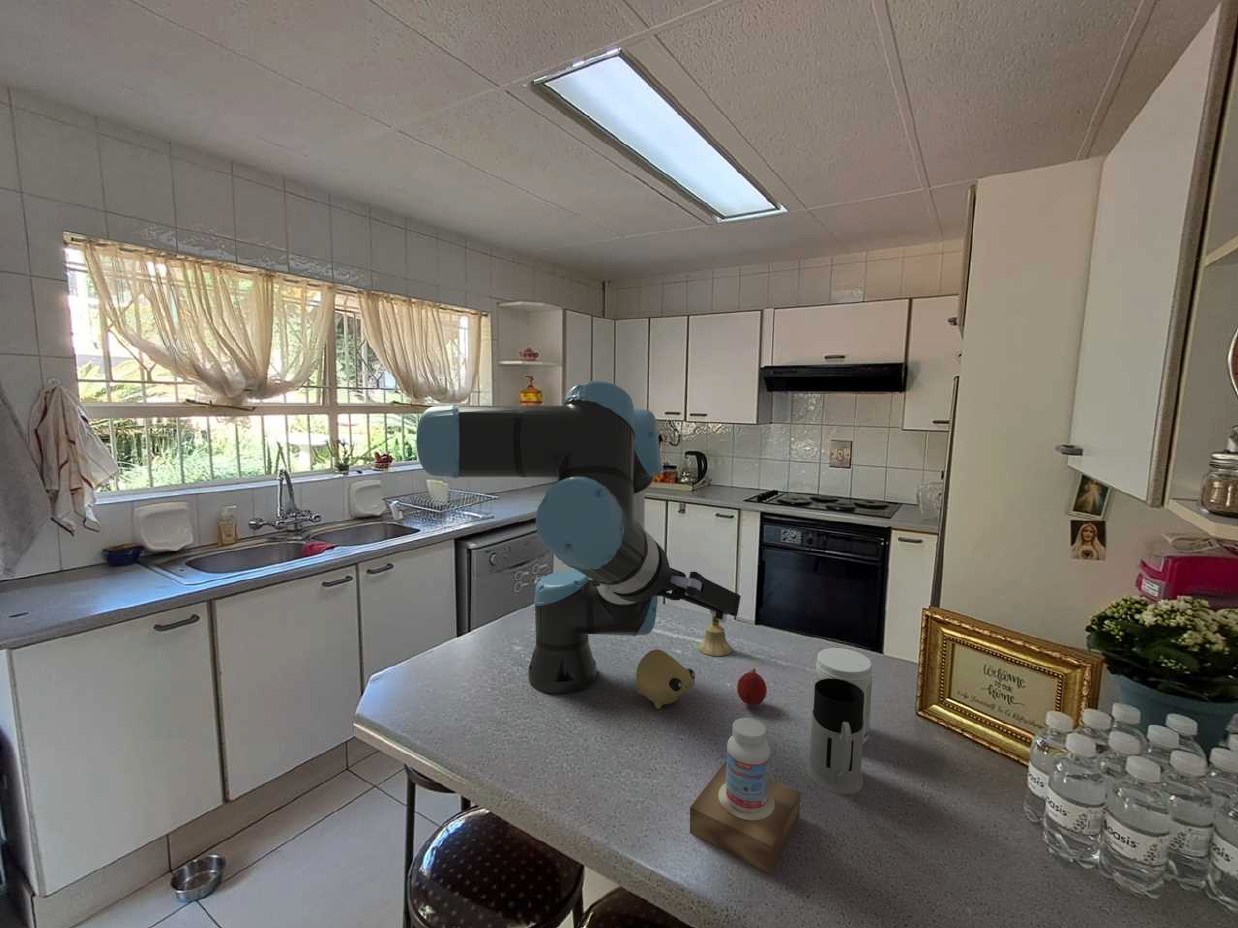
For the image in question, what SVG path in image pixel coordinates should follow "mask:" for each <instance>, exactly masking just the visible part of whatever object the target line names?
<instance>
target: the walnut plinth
mask: <svg viewBox="0 0 1238 928" xmlns="http://www.w3.org/2000/svg"><path fill="white" fill-rule="evenodd" d="M723 762H724V763H723V764H722V765H721V766H720V768H719V769H718V770H717V772H715V774H714V775H713V777H712V778H711V779H710V781H708V782H707V784H706V785H705V787H704V788H703V790H702V791H701V792H700V793H699V795H698V796H697V797H696V798H695V800H694V801H693V802H692V804H691V806H689V833H690V834H692V835H694V836H695V837H698V838H700V839H702V840H704V841H706V842H708V843H709V844H711V845H714V846H715V847H718V848H719V849H721V850H723V851H725V852H728V853H729V854H731V855H733V856H734V857H736V858H739V859H741V860H743V861H744V862H747V863H748V864H751V865H752V866H755V867H756V868H758V869H761V870H762V871H764V872H766V873H768V874H771V875H772V873H773V872H774V869H775V866H777V865H776V864H778V863H777V862H778V861H779V859H780V857H781V855H782V852H783V851H784V849H785V846H786V845H787V843H788V841H789V838H790V836H791V835H792V833H793V830H794V829H795V827H796V824H797V822H798V821H799V818H800V812H801V811H800V809H801V808H800V806H801V792H800V791H797V790H795V789H793V788H791V787H788V786H786V785H784V784H781V783H778V782H776V781H773V780H772V779H769V787H768V801H767V804H766V806H765V808H764V809H762V810H761V811H758V812H744V811H741V810H738V809H736V808H735V807H733V806H732V805H731V804H730V803H729V801H728V799H727V797H726V765H727V761H723Z"/></svg>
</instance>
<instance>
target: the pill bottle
mask: <svg viewBox="0 0 1238 928" xmlns="http://www.w3.org/2000/svg"><path fill="white" fill-rule="evenodd" d="M731 732H732V735H731V736H730V737H729V738H728V741H727V743H726V762H727V765H726V797H727V799H728V801H729V803H730V804H731V805H732V806H733V807H735V808H736V809H738V810H741V811H744V812H758V811H761V810H762V809H764V808H765V806H766V804H767V801H768V787H769V780H770V764H771V760H770V759H771V748H770V745H769V743H768V742H767V740H766V739H767V729H766V726H765V725H764V723H763V722H761V721H759V720H758V719H755V718H751V717H741V718H738V719H735V720H734V722H733V723H732V730H731Z"/></svg>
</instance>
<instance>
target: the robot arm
mask: <svg viewBox="0 0 1238 928" xmlns="http://www.w3.org/2000/svg"><path fill="white" fill-rule="evenodd" d="M633 403H634V402H633V401H632V398H631V396H630V395H629V393H628V392H627V391H626V390H625V389H623V388H622V387H620V386H618V385H616V384H614V383H611V382H608V381H601V380H591V381H590V380H589V381H586V382H585V383H583V384H577V385H574V386H573V387H572V388H570V390H569V391H568V392H567V393H566V396H565V399H564V402H563V404H562V405H540V404H539V405H532V404H529V405H521V406H520V405H519V406H517V405H513V406H512V405H458V404H456V403H455V404H451V405H437V406H436V405H433V406H431V407H428V408H427V409H426V410H425V411H423V413H422V414H421V416H420V418H419V420H418V424H417V427H416V428H417V429H416V453H417V456H418V461H419V463H420V466H421V467H422V469H423V470H424V471H425V472H426V473H427V474H428V475H430V476H434V477H448V478H449V477H452V478H453V479H458V478H556V479H557V478H558V480H557V482H556V483H555V484H553V485H552V486H551V487H550V488H548V490H547V491H546V492H545V495H544V497H543V499H542V500H541V503H540V504H539V505H538V507H537V510H536V514H535V527H536V532H537V535H538V537H539V540H540V542H542V544H543V545H544V546H545V547H546V549H548V551H550V552H551V553H552V554H553V555H554V556H555V557H556V558H557V559H558V560H559V561H560V562H562V564H565V565H566V566H567V567H569V568H572V569H569V570H568V569H566V570H561V571H560V570H559V571H557V572H556V571H555V572H553V573H550V574H548V575H547V574H546V575H545V576H544V577H542V578H540V579H539V580H538V582H537V583H536V585H535V592H534V593H535V595H534V601H533V603H534V616H535V617H534V618H535V645H534V650H533V653H532V655H531V659H530V662H529V666H528V682H529V684H530V685H531V686H532V687H533V688H535V689H536V690H538V691H541V692H544V693H548V694H557V695H559V694H560V695H562V694H571V693H575V692H579V691H583V690H584V689H586V688H588V687H589V686H590V685H592V684H593V683H594V682H595V680H596V679H597V662H596V660H595V659H594V657H593V653H592V649H591V646H590V644H589V635H605V636H606V635H607V636H608V635H609V636H628V637H636V636H647V635H649V634H650V633H652V632H653V630H654V628H655V625H656V619H657V608H658V599H659V597H662V598H664V599H668V600H670V601H680V600H682V601H685V602H687V603H689V604H694V605H696V606H698V607H702V608H704V609H706V610H709V613H710V614H711V615H712V617H713V616H714V617H715V618H716V619H717V620H719V623H724V624H726V623H727V621H726V620H727V616H728V615H730V616H731V617H734V616H735V617H737V616H738V613H739V608H740V603H741V595H740V594H739V593H736V592H734V591H731V590H730V589H727V588H726V587H723V586H722V585H720V584H718V583H716V582H713V581H712V580H710V579H707V578H706V577H704V576H703V575H702V574H701V573H699V572H698V571H690V572H689V575H688V577H687V574H686V573H685V572H682V571H681V570H678V569H675V568H673V567H671V566H670V562H669V559H668V556H667V554H666V551H665V550H664V549H663V548H662V546H661V545H660V544H659V543H658V542H657V541H656V540H655V539H654V537H653V536H652V535H651V534H650V533H649V532H647V531H646V529H645V513H646V512H645V503H646V501H645V499H646V498H645V497H646V496H645V494H646V492H645V491H647V489H648V488H649V487H651V485H652V483H653V480H654V477H656V476H659V475H660V474H661V472H662V462H661V461H662V460H661V459H662V458H661V451H660V450H661V449H660V439H659V432H658V431H659V430H658V424H657V420H656V416H655V415H654V413H653V412H652V411H651V410H648V409H643V408H641V409H638V408H635V406H634V404H633ZM670 591H671V593H670Z"/></svg>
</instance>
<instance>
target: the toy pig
mask: <svg viewBox="0 0 1238 928" xmlns="http://www.w3.org/2000/svg"><path fill="white" fill-rule="evenodd" d="M635 677H636V678H635V679H636V683H637V686H638V688H637V693H638V695H639V696H642V695H643V696H644V697H645V698H646V699H648V700H650V701H651V702H653V704H654V707H655V709H657V710H659V709H661V708H662V707H663V705H669V704H672V703H675V702H676V701H678V699H680V697H682V696H683V695H684V694H686V693H687V692H688V691H691V690H692V689H693V687H694V685H695V683H696V680H695V678H696V672H695V671H694V669H692V668H688V667H687V668H686V667H685V666H683V665H682V664H681V663H680V662H679V661H678V660H676V659H675V658H674V657H673V656H671V655H670V654H668V653H667V652H665V651H664V650H662V649H656V648H655V649H653V650H651V651H649V652H647V653H646V654H644V656H643V657H642V658H641V660H640V661H639V663H638V665H637V668H636V674H635Z"/></svg>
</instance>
